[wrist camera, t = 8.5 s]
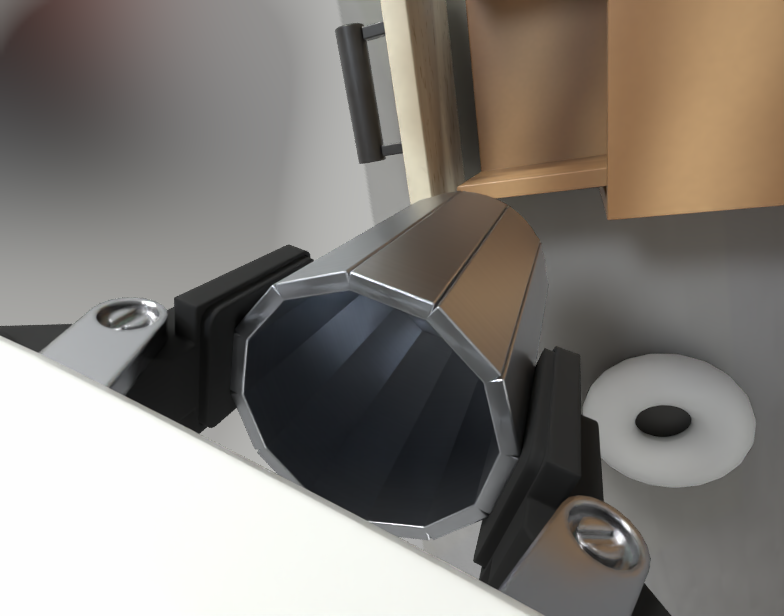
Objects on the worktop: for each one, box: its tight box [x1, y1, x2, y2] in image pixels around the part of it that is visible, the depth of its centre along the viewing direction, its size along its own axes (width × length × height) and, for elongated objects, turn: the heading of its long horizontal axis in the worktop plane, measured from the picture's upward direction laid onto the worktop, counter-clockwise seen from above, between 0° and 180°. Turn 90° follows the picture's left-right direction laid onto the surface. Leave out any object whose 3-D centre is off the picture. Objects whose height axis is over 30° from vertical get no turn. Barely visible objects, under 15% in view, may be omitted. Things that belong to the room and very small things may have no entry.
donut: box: [583, 354, 756, 488], centre depth 30 cm, size 10×4×10 cm
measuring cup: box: [230, 191, 549, 540], centre depth 12 cm, size 6×6×9 cm
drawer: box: [335, 0, 607, 205], centre depth 23 cm, size 18×13×8 cm
